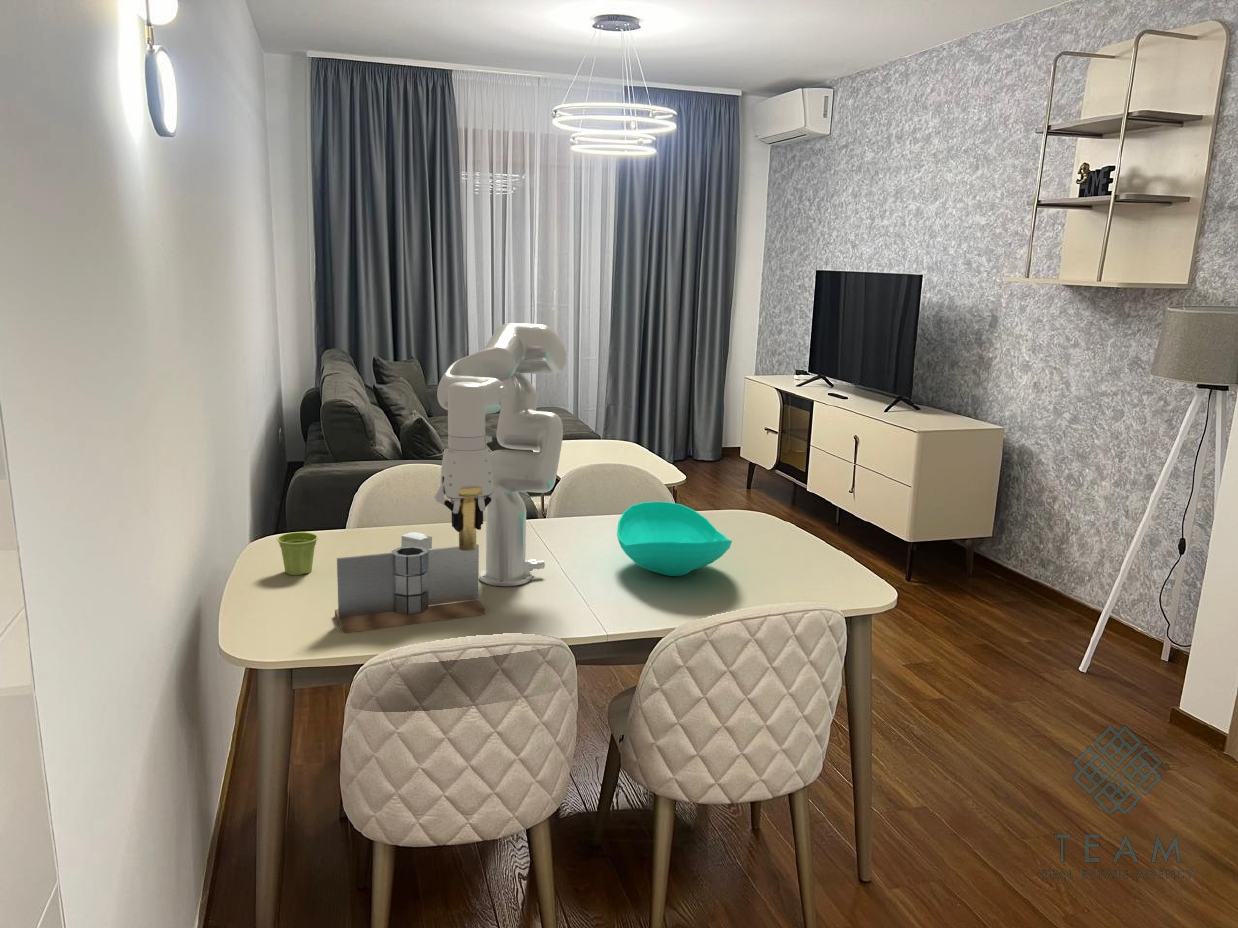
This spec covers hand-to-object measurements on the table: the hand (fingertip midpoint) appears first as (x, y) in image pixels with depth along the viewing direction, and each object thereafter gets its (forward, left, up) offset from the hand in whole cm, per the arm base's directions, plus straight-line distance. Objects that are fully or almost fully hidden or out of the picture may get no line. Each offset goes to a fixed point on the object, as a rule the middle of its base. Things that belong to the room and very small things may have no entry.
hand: (467, 528), depth 196 cm
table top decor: (-58, -15, -21) cm, 63 cm away
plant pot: (+28, -46, -21) cm, 57 cm away
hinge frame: (+16, -8, -19) cm, 26 cm away
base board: (+10, -8, -20) cm, 24 cm away
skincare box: (+4, -27, -21) cm, 34 cm away
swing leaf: (+5, -8, -19) cm, 21 cm away
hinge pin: (0, 0, -4) cm, 4 cm away
